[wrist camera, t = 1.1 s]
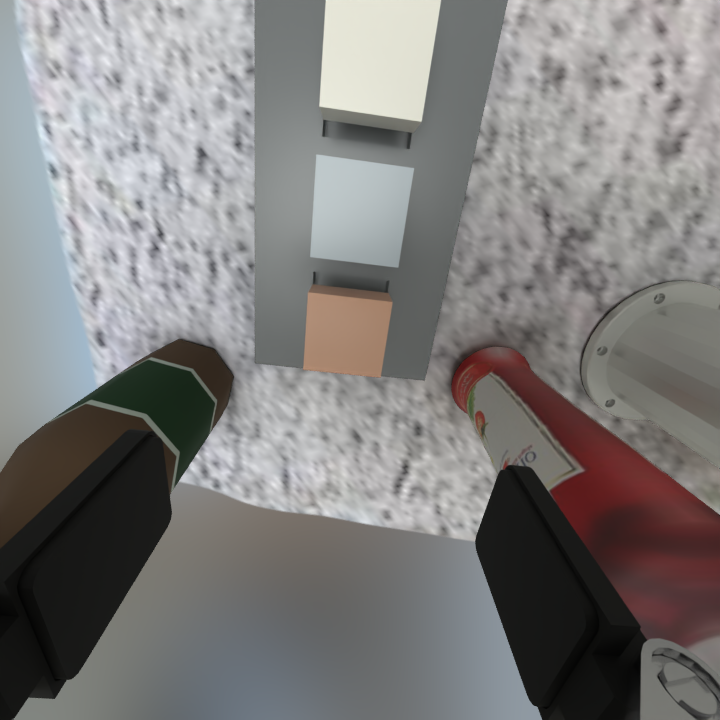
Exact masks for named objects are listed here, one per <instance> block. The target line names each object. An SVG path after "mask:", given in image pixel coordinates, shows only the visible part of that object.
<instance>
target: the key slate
mask: <svg viewBox="0 0 720 720" xmlns="http://www.w3.org/2000/svg"><path fill="white" fill-rule="evenodd" d="M413 172H414V168H409V167H402V166H395V165H388V164H381V163H374V162H367V161H360V160H353V159H346V158H339V157H332V156H325V155H317V154H316V168H315V185H314V201H313V218H312V234H311V251H310V257H314V258H323V259H331V260H339V261H347V262H355V263H364V264H372V265H380V266H388V267H396V268H398V266H399V260H400V253H401V247H402V241H403V235H404V228H405V222H406V216H407V210H408V204H409V197H410V191H411V185H412V179H413Z"/></svg>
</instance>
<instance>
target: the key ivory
mask: <svg viewBox="0 0 720 720" xmlns="http://www.w3.org/2000/svg"><path fill="white" fill-rule="evenodd" d="M440 4H441V0H326V4H325V20H324V37H323V53H322V70H321V86H320V103H319V107H320V110H321V113H322V117H323V120H330V121H336V122H343V123H350V124H357V125H363V126H370V127H377V128H384V129H390V130H397V131H404V132H411V133H414V131H415V130H416V129H417V127H418V126H419V125H420V123H421V122H422V116H423V110H424V104H425V98H426V91H427V85H428V79H429V73H430V67H431V60H432V54H433V48H434V42H435V35H436V29H437V23H438V17H439V10H440Z"/></svg>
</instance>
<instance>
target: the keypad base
mask: <svg viewBox="0 0 720 720" xmlns="http://www.w3.org/2000/svg"><path fill="white" fill-rule="evenodd" d="M507 1H508V0H441V4H440V10H439V17H438V23H437V29H436V35H435V42H434V48H433V54H432V60H431V67H430V73H429V79H428V85H427V91H426V98H425V104H424V110H423V116H422V122H421V123H420V125H419V126H418V127H417V129H416V130H415V131H414V133H411V132H404V131H397V130H390V129H384V128H377V127H370V126H363V125H357V124H350V123H343V122H336V121H330V120H323V117H322V113H321V110H320V107H319V103H320V86H321V70H322V53H323V37H324V20H325V4H326V0H255V363H256V364H266V365H276V366H286V367H296V368H303V366H304V349H305V333H306V316H307V300H308V291H309V290H310V288H311V286H312V284H315V285H324V286H333V287H341V288H350V289H358V290H367V291H375V292H384V293H389V295H390V297H391V300H392V302H393V303H392V309H391V316H390V322H389V328H388V334H387V341H386V347H385V353H384V359H383V365H382V372H381V376H385V377H394V378H404V379H414V380H424V381H425V377H426V373H427V368H428V364H429V359H430V354H431V350H432V345H433V341H434V336H435V332H436V327H437V322H438V318H439V313H440V309H441V304H442V299H443V295H444V290H445V286H446V281H447V277H448V272H449V267H450V263H451V258H452V254H453V249H454V244H455V240H456V235H457V231H458V226H459V222H460V217H461V212H462V208H463V203H464V199H465V194H466V189H467V185H468V180H469V176H470V171H471V167H472V162H473V157H474V153H475V148H476V144H477V139H478V134H479V130H480V125H481V121H482V116H483V111H484V107H485V102H486V98H487V93H488V89H489V84H490V79H491V75H492V70H493V66H494V61H495V56H496V52H497V47H498V43H499V38H500V34H501V29H502V24H503V20H504V15H505V11H506V6H507ZM316 154H317V155H325V156H332V157H339V158H346V159H353V160H360V161H367V162H374V163H381V164H388V165H395V166H402V167H409V168H414V172H413V179H412V185H411V191H410V197H409V204H408V210H407V216H406V222H405V228H404V235H403V241H402V247H401V253H400V260H399V266H398V268H396V267H388V266H380V265H372V264H364V263H355V262H347V261H339V260H331V259H323V258H314V257H310V251H311V234H312V218H313V201H314V185H315V168H316Z"/></svg>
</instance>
